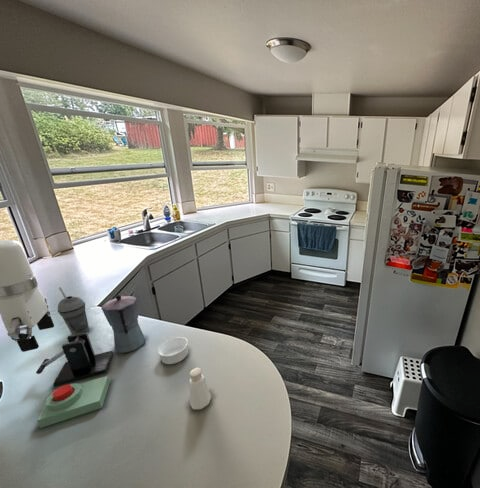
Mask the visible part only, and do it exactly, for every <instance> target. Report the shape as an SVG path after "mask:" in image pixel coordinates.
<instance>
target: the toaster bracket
mask: <svg viewBox="0 0 480 488" xmlns="http://www.w3.org/2000/svg"><path fill="white" fill-rule="evenodd" d="M77 337H81V338H82V339H84V340H86V341H85V343H83V340H81V341H76V342H72V343H70V342H71V341H73V340H74V339H76V338H77ZM66 339H67V342H68V343H63V344H62V345H61V348H62V351H64V356H65V359H66V360H67V361H65V362H64V364H63V365H62V367H61V369H60V371H59V373H58V375H57V376H56V378H55V380H54V382H53V383H52V385H53V387H54V388H56V387H60V386H64V385H68V384H71V383H73V382H77V381H80V380H81V381H82V380H84V379H87V378H91V377H95V376H99V375H101V374H106V373H107V371H108V368H109V366H110V363H111V360H112V357H113V354H114V352H113V350H108V351H105V352H101V353H97V354H95V351H94V348H93V345H92V343H91V339H90V336H89V334H88V333H87V332H85V333H80V334H75V335H72V334H71V335H68V336H67V338H66Z"/></svg>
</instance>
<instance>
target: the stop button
mask: <svg viewBox="0 0 480 488" xmlns="http://www.w3.org/2000/svg"><path fill="white" fill-rule="evenodd" d="M52 393H53V394H52ZM52 393H51V394H52V395H53V398H54V400H55V401H61V400H64V399H66V398H68V397H69V396H70V395H72V393H73V388H72V386H71V385H69V384H63V385H60V386H58V388H56V389H55V390H54V392H53V391H52Z"/></svg>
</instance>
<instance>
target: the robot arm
mask: <svg viewBox="0 0 480 488" xmlns="http://www.w3.org/2000/svg"><path fill="white" fill-rule="evenodd" d="M34 273H35V272H34V271H33V268H32V267H31V264H30V261H29V259H28V256H27V254H26V251H25V249H24V247H23V245H22V243H21V242H19V241H17V240H14V239H2V240H1V239H0V317H1V321H2V323H3V325H4V328H5V330H6V331H7V333H6V334H7V336H8V337H10V339H11V340H13V341H15V342H16V344H17V345H18V347H19V349H20V352H22V353H25V352H28V351H33V350H37V349H38V348H39V347H40V345H39V343H38V341H37V338H36V335H33V328H34V327H36V326H37V328H38V330H39V331H43V330H47V329H53V328H54V327H55V324H54V321H53V319H52V316H51V311H49V305H48V302H47V298H44V295H43V293H42V292H41V290H40V288H39V287H40V286H39V283H38V280H37V278H36V276H35V274H34ZM21 331H26V332H25V333H23V332H22V333H21Z"/></svg>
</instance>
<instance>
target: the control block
mask: <svg viewBox="0 0 480 488" xmlns="http://www.w3.org/2000/svg"><path fill="white" fill-rule="evenodd" d="M68 385H71V386H72V388H73V393H72V395H70V396H69V397H68V398H66V399H64V400H61V401H55V400H54V398H53V395H52V394H53V392H54V391H55V390H54V391H52V393H51V394H50V395H48V397H47V399H46V400H45V405H44V407H43V408H42V411H41V412H40V413H39V417H38V418H37V419H36V421H37V423H38V425H39V427H40V429H41V428H45V427H48V426H51V425H54V424H58V423H60V422H63V421H67V420H70V419H72V418H76V417H79V416H83V415H84V414H87V413H91V412H94V411H97V410H100V409H102V408H103V406H104V402H105V400H106V397H107V393H108V391H109V387H110V385H111V381H110V378H109V375H106V376H102V377H99V378H95V379H92V380H88V381H84V382H82V383H68Z"/></svg>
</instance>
